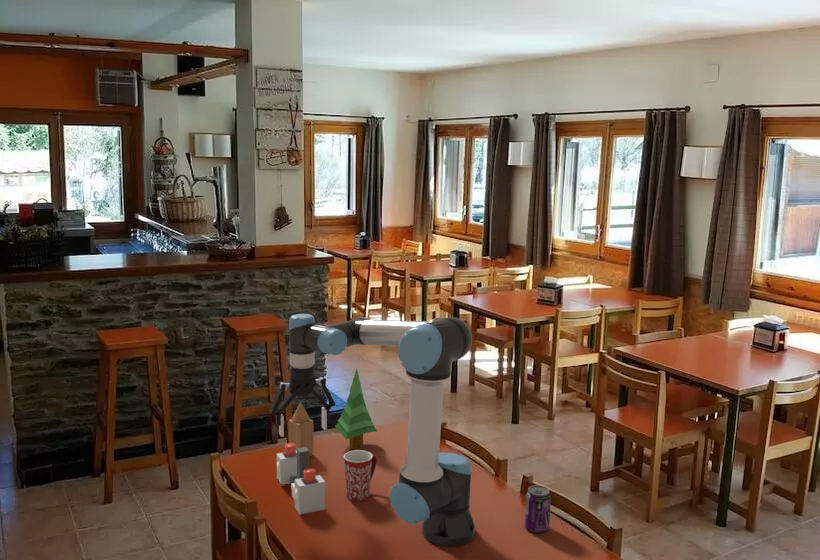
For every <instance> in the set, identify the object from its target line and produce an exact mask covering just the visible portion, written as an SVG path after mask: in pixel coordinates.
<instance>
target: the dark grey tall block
mask: <svg viewBox="0 0 820 560" xmlns="http://www.w3.org/2000/svg"><path fill="white" fill-rule="evenodd" d="M307 468H310V456H309V450H308V449H307V448H306V447H304V448H298V449H297V479H300V478H304V470H305V469H307ZM290 488H291V497H292V498H293V500H294V501H295V483H292V484H291V485H290Z"/></svg>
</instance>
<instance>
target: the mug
mask: <svg viewBox="0 0 820 560" xmlns="http://www.w3.org/2000/svg"><path fill="white" fill-rule="evenodd" d="M343 460H344V461H343V462H344V474H345V478H344V479H345V493H346V498H347V499H348V500H349V501H355V502H360V501H365V500H367V499H368V498H369V497H370V493H371V492H370V491H371V480H372V478H373V476H374V473H375V470H376V467H377V461H378V460H377V456H376V455H374V454H373V453H372V452H370V451H367V450H364V449H362V450H361V449H355V450H350V451H348V452H345V453H344V455H343Z"/></svg>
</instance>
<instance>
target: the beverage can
mask: <svg viewBox="0 0 820 560" xmlns="http://www.w3.org/2000/svg"><path fill="white" fill-rule="evenodd" d="M550 492H551V491H550V489H549V488H548V487H546V486H543V485H531V486H529V487H528V488H527V492H526V495H525V511H524V512H525V513H524V527H525V528H526V529H527V530H528V531H530V530H531V532H532V531H534V532H533V533H536V532H541V533H545V532H547V531H549V529H550V518H551V505H552V504H551V503H552V500H551V499H552V496H551V493H550ZM544 531H545V532H544Z"/></svg>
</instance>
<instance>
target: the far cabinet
mask: <svg viewBox="0 0 820 560" xmlns="http://www.w3.org/2000/svg"><path fill="white" fill-rule="evenodd" d="M292 476H296V477H297V450H296V455H295V456H286V455H285V451H284V452H279V453H276V480H277V479H278V480H279V482H280V483H281V484H288V485H290V477H292ZM278 480H277V481H278ZM279 482H278V483H279ZM280 483H279V484H280Z"/></svg>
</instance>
